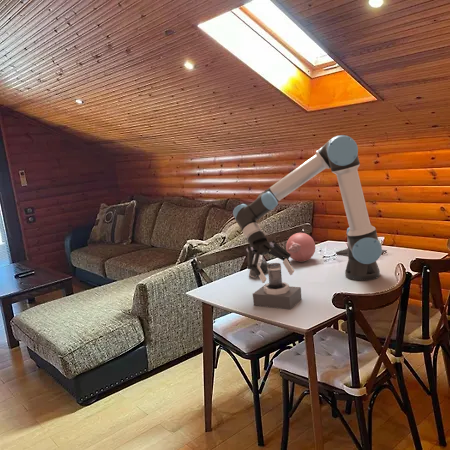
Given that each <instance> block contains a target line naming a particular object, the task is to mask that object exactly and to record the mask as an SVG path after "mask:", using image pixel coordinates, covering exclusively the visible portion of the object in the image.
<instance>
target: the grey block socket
mask: <svg viewBox="0 0 450 450" xmlns="http://www.w3.org/2000/svg"><path fill="white" fill-rule="evenodd" d="M282 287H283V288H280V289H270V286H269V283H265V284H264V285H262V286H261V287H260V288H259V289H257V290H256V291H255V292H253V293H252V300H253V306H256V307H264V308H274V309H282V310H291V309H293V308H294V307H295V306H296V305H297V304H298V303H299V302H300V301H301V300H302V298H303V297H302V287H300V286H291V285H289V284H288V283H287V282H283V281H282Z"/></svg>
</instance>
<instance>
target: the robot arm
mask: <svg viewBox="0 0 450 450" xmlns="http://www.w3.org/2000/svg"><path fill="white" fill-rule="evenodd" d="M315 152H316V153H315V154H314V155H313V156H312V157H310V158H309V159H307V160H306V161H304V162H303V163H302V164H301V165H299V166H297V167H295V169H294V170H292V171H291V172H289V173H288V174H286V175H285V176H284V177H282V178H281V179H280V180H278V181H277V182H275V183H274V184H272V185H271V186H270V187H269V188H267V189H266V190H265V191H262V192H260V193H259V194H258V196H257V198H255V200H253V201H252V202H251V203H250V204H246V203H241V204H239V205H237V206H235V207H234V209H233V211H232V215H233V217H234V219H235V222H236V223H237V225H238V226H239V228H240V229H241V231H242V233H243V235H244V237H245V239H246V241H247V242H248V244H249V245H248V246H247V247H246V249H245V252H246V254H247V256H246V257H247V269H248V270H250V269H252V270H253V271H255V273H256V275H257V276H258V277H259V279H260V280H261V283H262V284H264V283H265V282H266V281H267V277H266V275H265V274H264V273H265V272H262V270H261V268H260V266H257V263H258V259H259V256H260V255H262V256H264V255H271V256H274V257H275V258H277V259H279V260H281V261H282V264H283V265H284V267H285V268H286V270H287V272H288V274H289V275H290V276H292V275H293V274H294V272H295V270H294V269H293V267H292V262H291V261H290V258H291V257H290V256H291V255H290V254H289V253H288V252H287V250H286V249H284V248H283V247H282V246H281V245H279V244H278V243H277V242H276V241H275V240H274V239H273V240H272V241H270V242H269V241H268V239H267V236H266V235H265V233H264V232H263V230H262V228H261V226H260V224H259V223H258V220H259V219H261V218H262V217H264V216H265V215H266V214H268V213H269V212H271V211H272V210H274V209H275V208H276V207H277V206H278V205H279V202H280V201H281V200H283V199H284V198H286V197H287V196H288V195H290V194H292V193H293V192H294V191H296V190H297V189H299V188H300V187H301V186H302V185H304V184H306V183H307V182H308V181H309V180H311V179H313V178H314V177H315V176H317V175H318V174H320V173H321V172H323V171H324V170H326V169H328V170H329V169H330V170H331V173H333V174H335V175H336V179H337V183H338V186H339V192H340V194H341V200H342V202H343V208H344V211H345V215H346V219H347V223H348V226H349V227H347V229H346V239H347V240H346V241H347V248H348V256H347V259H348V260H347V262H346V267H345V271H344V275H345V276H344V277H346V278H347V279H350V280H353V281H371V280H376V279H378V278H380V276H381V273H380V268H379V266H378V265H379V264H378V263H377V261H379V259H380V258H381V256H382V255H381V253H382V250H383V247H382V244H381V242H380V241H379V237H378V233H377V229H376V227H375V226H373V225H372V223H371V221H370V217H369V212H368V208H367V203H366V199H365V197H364V196H365V195H364V191H363V187H362V183H361V179H360V174H359V171H358V170H359V167H360V165H361V163H360V158H359V153H358V152H359V147H358V144H357V141H356V140H355V139H353V137H351V136H349V135H346V134H340V135H335V136H333V137H331V138H330V139H329V140H328V141H327V142H326V143H325V144H324V145H322V146H321V147H320V148H319V149H317V150H316V151H315ZM253 252H254V253H255V254H256V255H255V254H254V255H255V259H254V263H253V264H252V261H253Z"/></svg>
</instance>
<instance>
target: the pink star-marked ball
mask: <svg viewBox="0 0 450 450" xmlns="http://www.w3.org/2000/svg"><path fill="white" fill-rule="evenodd" d="M285 250H286V251H287V252H288V253H289V254H290V255H291V256H290V257H289V258H291V259H292V260H293V261H295V262H299V263H300V262H301V263H302V262H307V261H308V260H311V258H312V257H313V256H314V254H315V253H316V243H315V241H314V238H313V237H312V236H311V235H309V234H307V233H305V232H297V233H294V234H291V236H290V237H288V239H287V242H286V244H285Z"/></svg>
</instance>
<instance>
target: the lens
mask: <svg viewBox="0 0 450 450" xmlns="http://www.w3.org/2000/svg"><path fill="white" fill-rule="evenodd" d="M267 268H268V272H267V273H268V282H269V286H270V289H280V288H283V287H282V282H283V278H282V264H281V263H279V262H272V263H269V264H268V267H267Z"/></svg>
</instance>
